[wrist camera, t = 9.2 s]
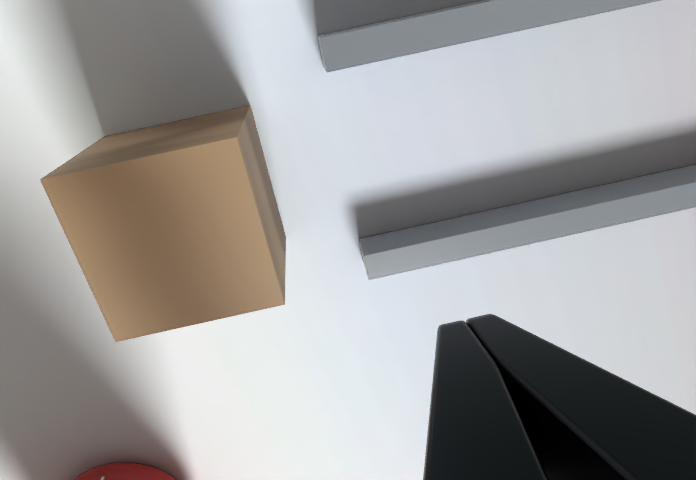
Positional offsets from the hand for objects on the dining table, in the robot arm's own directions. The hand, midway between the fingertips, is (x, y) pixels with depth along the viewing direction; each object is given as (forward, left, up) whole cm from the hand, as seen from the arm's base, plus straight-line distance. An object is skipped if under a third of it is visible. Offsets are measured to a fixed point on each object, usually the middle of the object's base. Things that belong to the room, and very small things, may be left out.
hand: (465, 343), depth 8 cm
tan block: (+6, 0, -12) cm, 13 cm away
